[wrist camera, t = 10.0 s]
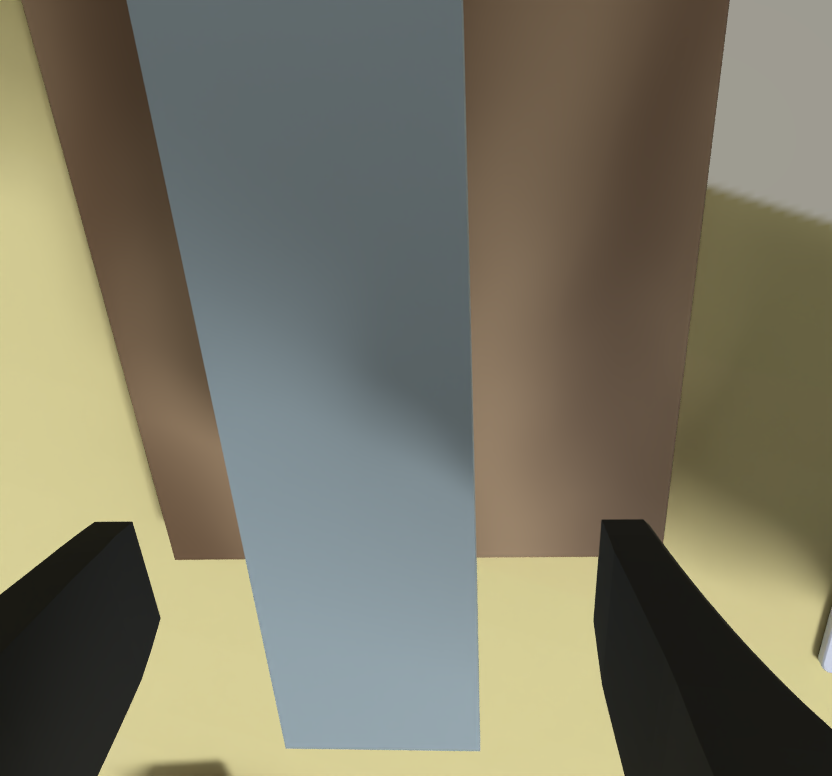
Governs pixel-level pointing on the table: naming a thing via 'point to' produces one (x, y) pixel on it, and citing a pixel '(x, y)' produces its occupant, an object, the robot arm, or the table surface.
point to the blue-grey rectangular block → (335, 341)
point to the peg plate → (488, 257)
